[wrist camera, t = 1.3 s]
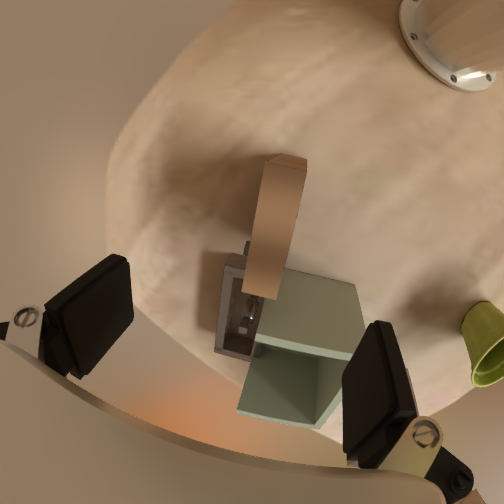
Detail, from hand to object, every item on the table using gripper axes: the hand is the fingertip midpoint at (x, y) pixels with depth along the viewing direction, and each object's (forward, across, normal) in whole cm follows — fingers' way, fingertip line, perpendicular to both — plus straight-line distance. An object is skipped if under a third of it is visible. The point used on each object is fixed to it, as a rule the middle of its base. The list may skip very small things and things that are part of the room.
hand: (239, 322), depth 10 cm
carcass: (+18, -5, +13) cm, 23 cm away
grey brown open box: (+18, +2, +13) cm, 22 cm away
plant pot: (+18, -30, +8) cm, 36 cm away
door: (+18, 0, 0) cm, 18 cm away
